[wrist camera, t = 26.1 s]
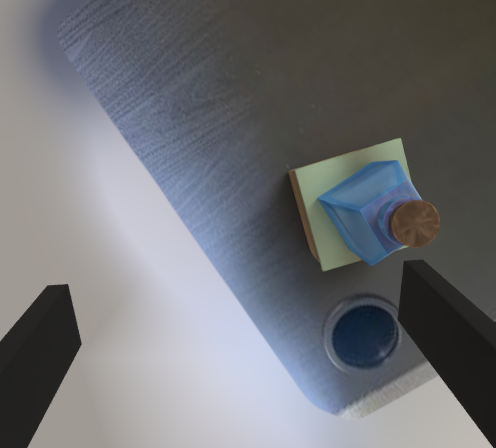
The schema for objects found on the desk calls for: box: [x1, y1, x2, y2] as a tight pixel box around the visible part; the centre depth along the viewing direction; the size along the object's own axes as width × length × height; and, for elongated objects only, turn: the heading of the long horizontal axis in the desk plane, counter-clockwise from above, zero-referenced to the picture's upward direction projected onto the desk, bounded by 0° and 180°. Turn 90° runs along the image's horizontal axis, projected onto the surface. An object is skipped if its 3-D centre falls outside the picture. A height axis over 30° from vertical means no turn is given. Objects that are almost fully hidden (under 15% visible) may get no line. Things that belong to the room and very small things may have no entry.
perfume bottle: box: [317, 160, 440, 266], centre depth 32 cm, size 6×6×12 cm
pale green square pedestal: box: [288, 138, 411, 271], centre depth 41 cm, size 10×10×8 cm
